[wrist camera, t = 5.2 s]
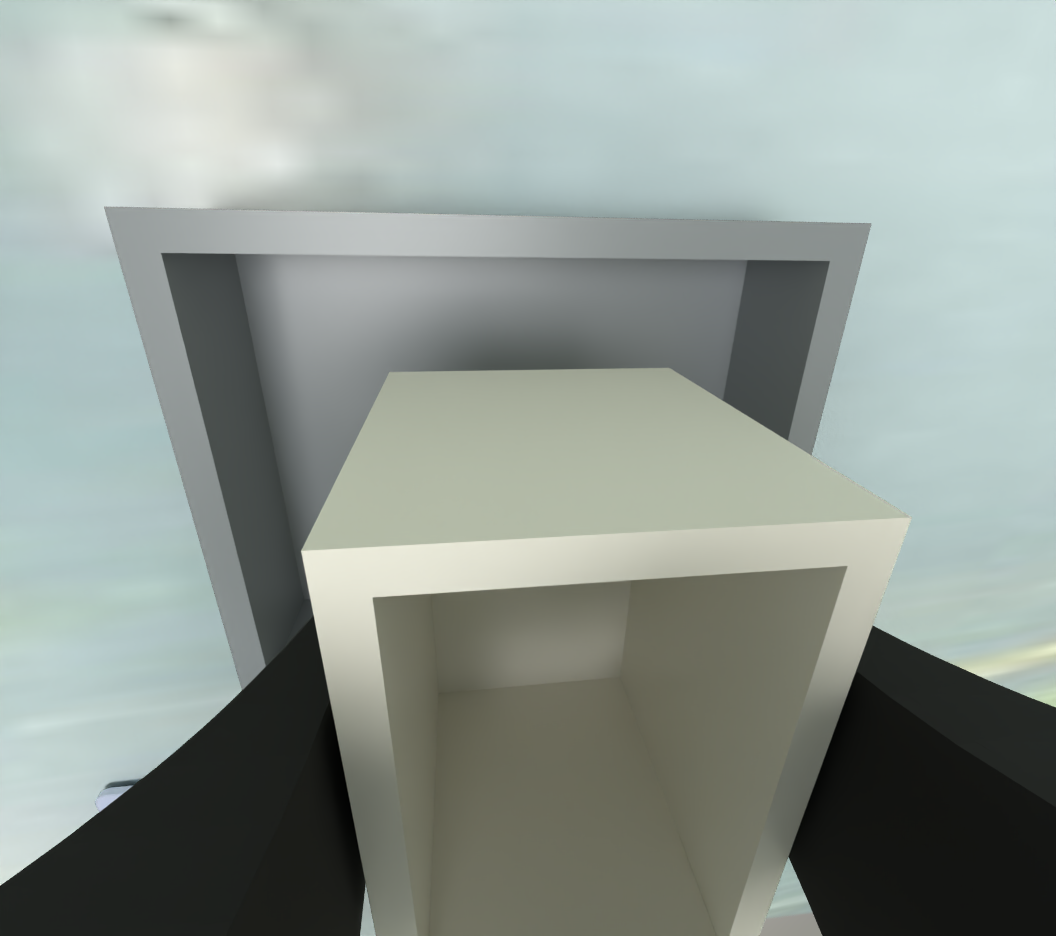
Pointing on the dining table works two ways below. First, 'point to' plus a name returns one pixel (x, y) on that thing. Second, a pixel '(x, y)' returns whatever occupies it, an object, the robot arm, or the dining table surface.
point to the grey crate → (439, 344)
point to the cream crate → (585, 649)
